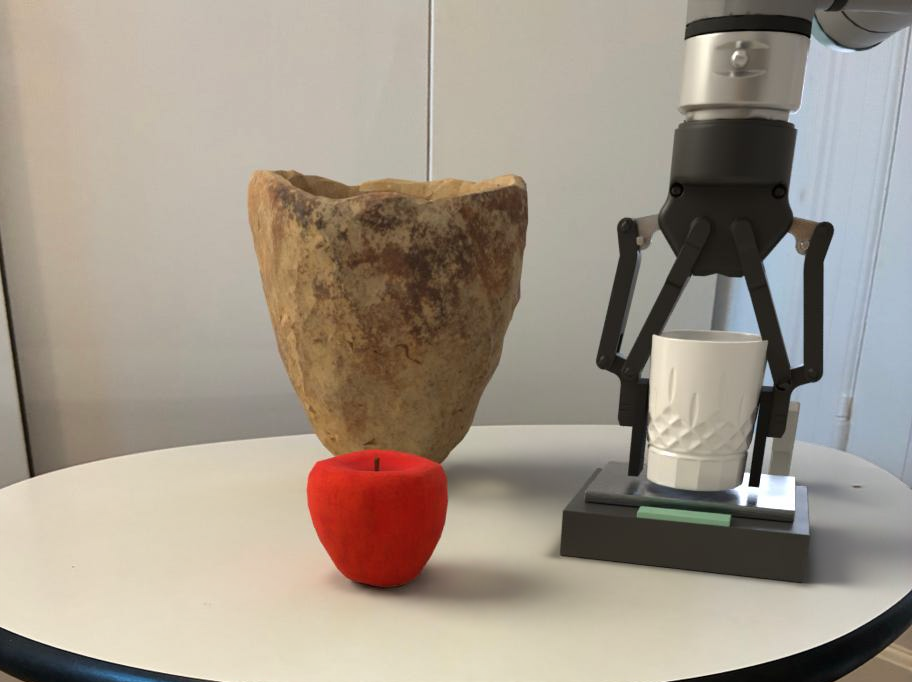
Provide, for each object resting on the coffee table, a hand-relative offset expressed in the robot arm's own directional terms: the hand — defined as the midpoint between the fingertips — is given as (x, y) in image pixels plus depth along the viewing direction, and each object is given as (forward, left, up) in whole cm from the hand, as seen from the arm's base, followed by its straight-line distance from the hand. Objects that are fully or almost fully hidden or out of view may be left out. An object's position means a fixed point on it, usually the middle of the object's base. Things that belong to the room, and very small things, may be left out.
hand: (693, 477), depth 73 cm
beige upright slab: (-6, -19, -5) cm, 21 cm away
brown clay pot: (+27, -10, -5) cm, 29 cm away
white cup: (0, 0, 0) cm, 0 cm away
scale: (0, 0, -5) cm, 5 cm away
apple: (+18, +16, -5) cm, 25 cm away
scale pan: (0, -1, -1) cm, 2 cm away
